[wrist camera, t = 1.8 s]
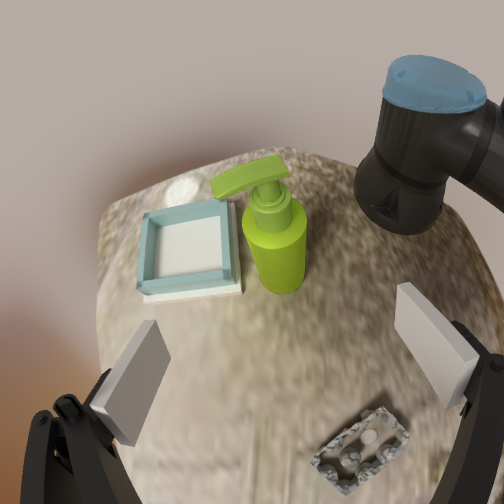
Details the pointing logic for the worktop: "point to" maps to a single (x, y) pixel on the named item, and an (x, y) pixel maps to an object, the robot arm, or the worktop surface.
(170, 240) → the cradle
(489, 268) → the worktop surface
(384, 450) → the egg carton
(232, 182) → the soap dispenser
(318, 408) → the worktop surface
